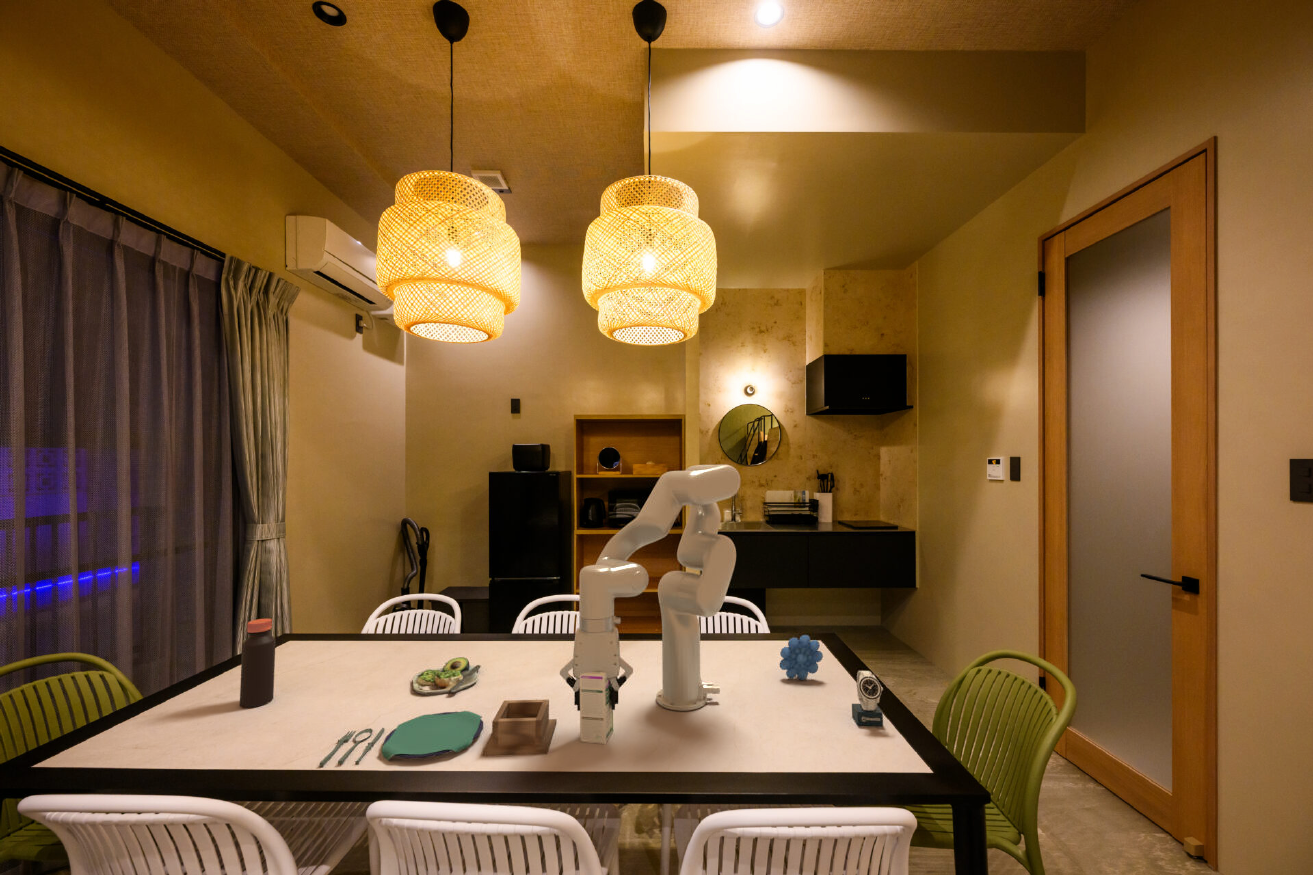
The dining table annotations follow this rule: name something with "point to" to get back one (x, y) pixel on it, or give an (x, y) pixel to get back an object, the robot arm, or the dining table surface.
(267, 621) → the bottle
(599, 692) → the syrup box
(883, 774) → the dining table surface
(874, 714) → the watch
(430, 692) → the avocado toast plate
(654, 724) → the dining table surface
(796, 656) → the blue knobbly flower shape
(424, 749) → the cutlery set
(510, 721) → the walnut holder
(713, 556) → the robot arm
